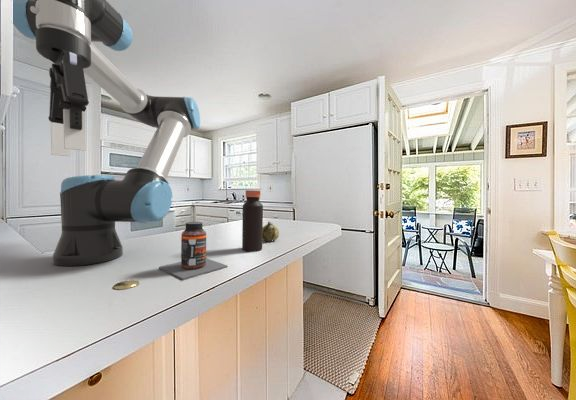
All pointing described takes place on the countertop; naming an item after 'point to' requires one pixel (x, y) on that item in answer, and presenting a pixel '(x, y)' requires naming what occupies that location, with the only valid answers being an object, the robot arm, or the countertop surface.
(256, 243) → the vinegar
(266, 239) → the onion
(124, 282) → the brass marker
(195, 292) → the countertop surface
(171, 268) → the rubber mat
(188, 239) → the supplement bottle
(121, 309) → the countertop surface
